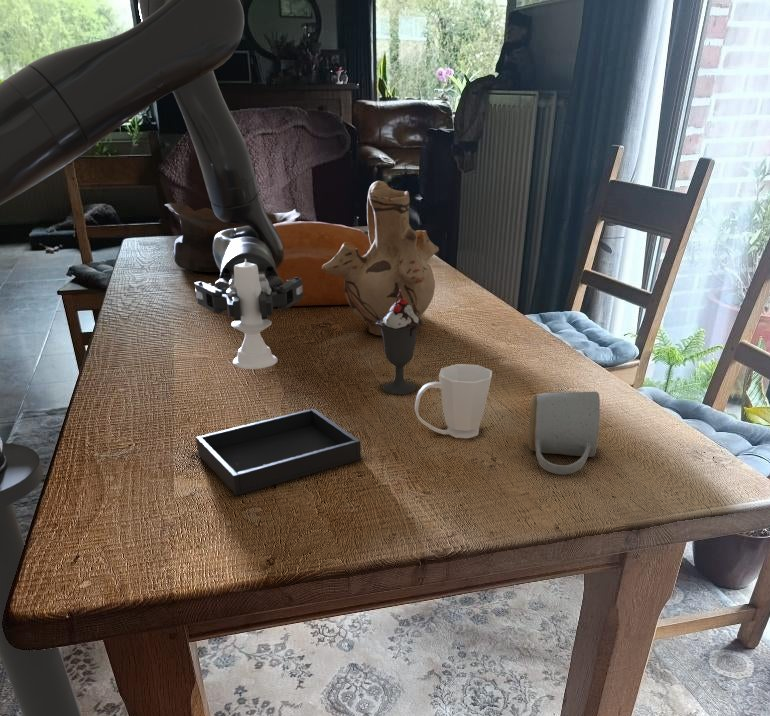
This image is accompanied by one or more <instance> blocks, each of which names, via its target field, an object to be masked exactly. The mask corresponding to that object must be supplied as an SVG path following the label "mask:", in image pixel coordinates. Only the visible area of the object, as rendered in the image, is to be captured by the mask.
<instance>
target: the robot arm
mask: <svg viewBox="0 0 770 716" xmlns="http://www.w3.org/2000/svg"><path fill="white" fill-rule="evenodd" d="M137 2H138V5H137V6H138V11H139V16H140V19H141V21H140V22H139V23H138V24H136V25H134V26H133V27H131V28H130V29H128V30H125V31H124V32H122V33H119V34H117V35H114V36H111V37H107V38H105V39H104V38H103V39H101V40H96V41H93V42H88V43H84V44H79V45H76V46H72V47H69V48H64V49H61V50H57V51H56V52H53V53H50V54H47V55H44V56H42V57H40V58H38V59H36V60H34V61H32V62H30V63H29V64H27V65H25V66H24V67H22V68H21V69H20V70H18V71H16V72H15V73H14V74H12V75H10V76H9V77H6V79H5V80H3V81H1V82H0V206H1V205H3V204H5V203H7V202H8V201H10V200H12V199H13V198H15V197H17V196H19V195H21V194H23V193H25V192H26V191H28V190H29V189H31V188H32V187H34V186H36V185H38V184H39V183H40V182H43V181H44V180H46V179H47V178H48V177H50V176H52V175H53V174H55V173H56V172H58V171H61V170H62V169H63V168H64V167H66V166H68V165H69V164H70V163H72V162H73V161H75V160H77V158H79V157H80V156H82V155H84V154H85V153H86V152H88V151H89V150H90V149H91V148H93V147H94V146H95V145H96V144H97V143H99V142H100V141H102V140H103V139H104V138H105V137H107V136H109V135H110V134H111V133H113V132H115V130H117V129H119V128H120V127H122V126H123V125H125V124H126V123H128V122H129V121H130V120H132V119H133V118H135V117H136V116H138V115H139V114H141V113H142V112H143V111H144V110H146V109H147V108H148V107H150V106H151V105H153V104H155V103H156V102H157V101H159V100H160V99H162V98H164V97H167V95H169V94H171V93H173V96H174V98H175V100H176V103H177V105H178V107H179V110H180V112H181V115H182V117H183V120H184V123H185V125H186V128H187V131H188V134H189V136H190V138H191V141H192V145H193V147H194V151H195V154H196V157H197V159H198V163H199V167H200V169H201V173H202V178H203V180H204V185H205V187H206V191H207V195H208V198H209V201H210V205H211V208H212V210H213V211H214V213H215V215H216V216H217V218H218V219H220V220H221V221H223V222H226V223H232V224H243V225H248V226H243V227H238V228H235V229H234V228H232V229H227V230H224V231H221V232H219V233H218V234H217V235H216V236H215V238H214V241H213V254H214V258H215V261H216V264H217V266H218V268H219V270H220V271H221V272H219V273H220V274H219V279H217V280H216V281H215V283H214V285H213V284H212V283H211V282H210V283H207V282H204V281H196V282H194V288H195V295H196V301H197V305H200V306H201V307H203V308H205V309H206V310H209V311H211V312H213V313H215V314H222V313H225V310H227V316H228V318H233V319H234V321H241V311H240V302H239V297H238V296H237V290H236V288H235V286H234V280H235V276H234V266H235V265H237V264H242V263H245V259H246V262H249V263H252V264H256V265H257V267H258V273H259V282H260V286H261V293H260V306H261V316H262V320H264V319H268V320H269V318H268V317H269V316H273V315H274V308H276V307H277V309H278V310H279V311H285V310H288V309H290V308H291V307H293V306H292V305H294V304H295V303H297V302H299V301H300V300H302V299H303V288H302V278H299V277H295V278H293V279H291V280H286V283H284V282H283V280H282V279H281V278H279V277H278V273H277V269H278V268H279V267H280V266H281V264H282V262H283V259H284V248H283V243H282V241H281V238H280V236H279V234H278V232H277V231H276V229H275V227H274V225H273V224H272V222H271V220H270V219H269V217H268V215H267V213H266V212H267V211H266V209H265V207H264V204H263V202H262V198H261V195H260V191H259V186H258V182H257V178H256V174H255V168H254V164H253V161H252V157H251V154H250V152H249V148H248V147H247V144H246V141H245V139H244V137H243V135H242V133H241V131H240V128H239V127H238V125H237V123H236V121H235V119H234V117H233V115H232V114H231V111H230V109H229V107H228V105H227V103H226V100H225V98H224V97H223V93H222V91H221V89H220V86H219V84H218V81H217V78H216V75H215V71H214V70H217V69H219V67H221V66H223V65H224V64H225V63H227V62H228V60H229V59H230V58H231V57H232V56H233V55H234V54H235V52H236V50H238V47H239V45H240V43H241V40H242V38H243V34H244V31H245V13H244V8H243V4H242V3H241V0H137ZM2 443H3V440H2V437H1V436H0V474H1V473H2V472H3V471H4V470H5V469H6V467H7V460H6V457H5V456H4V454H3V449H2V445H3V444H2Z"/></svg>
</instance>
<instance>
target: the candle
mask: <svg viewBox="0 0 770 716" xmlns="http://www.w3.org/2000/svg"><path fill="white" fill-rule="evenodd" d="M234 276H235V280H234V286H235V288H236V290H237V296H238V297H239V302H240V311H241V321H235V320H234V321H232V322H231V324H230V325H231V327H232V328H233V329H236V330H238V331H240V332H242V333H244V338H243V342H242V344H241V347H240V348H238V351H237V356H236V357H235V358H234V359H233V360H232V364H233V365H234V367H236V368H239V369H243V370H260V369H261V370H262V369H267V368H270V367H272V366H275V365H276V364H277V362H278V358H277V356H275V355H274V354H272V353H273V352H272V351H271V348H270V346H268V345H267V344H266V343H265V340H264V339H263V337H262V335H261V332H263V331H264V330H265V329H268V328H269V327H270V326H271V325H272V323H273V322H272V320H271V319H269V318H268V319H264V320H262V316H261V306H260V293H261V286H260V282H259V273H258V267H257V265H256V264H252V263H249V262H246V259H245V263H242V264H237V265H235V266H234Z"/></svg>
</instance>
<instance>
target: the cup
mask: <svg viewBox="0 0 770 716" xmlns="http://www.w3.org/2000/svg"><path fill="white" fill-rule="evenodd" d="M492 376H493V370H492V369H489V368H487V367H484V366H482V365H479V364H467V363H456V364H452V365H448V366H445V367H441V368H440V371H439V373H438V381H431V382H426V383H425V384H423V385H422V387H421V388H420V389H419V390H418V391H417V394H416V397H415V401H414V413H415V415H416V419H418V420H419V422H421V423H422V424H423V426H425V427H427V428H429V429H430V430H432V431H433V432H435V433H438V434H441V435H449V436H451V437H453V438H455V439H456V438H457V439H470V438H471V439H472V438H474V437H477V436H479V431H480V426H481V423H482V421H483V416H484V414H485V411H486V410H485V409H486V405H487V399H488V395H489V390H490V386H491V382H492ZM430 388H432V389H433V388H434V389H440V397H441V406H442V412H443V416H444V420H445V425H446V426H447V427H446V428H447V429H441V428H438V427H435V426H433V425H432V424H431V423H429V422H427V421H426V420H424V419H423V418H422V417H421V416H420V413H419V408H420V407H419V406H420V402H421V399H422V398H421V397H422V396H423V394H424V393H425V392H426V391H427V390H428V389H430Z"/></svg>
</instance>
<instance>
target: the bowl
mask: <svg viewBox="0 0 770 716" xmlns="http://www.w3.org/2000/svg"><path fill="white" fill-rule="evenodd" d="M163 205H164V206H165V207H167V209H168V210H169V211H170V212H172V213H174V214H176V215H177V216H178V219H179V223H180V234H182V235H180V236H177V237H176V239H175V241H174V252H173V257H174V262H175V265H177V266H178V267H179V268H180V269H185V270H188V271H191V272H200V273H201V272H203V273H221V271H220V270H219V268H218V266H217V264H216V261H215V258H214V254H213V241H214V238H215V236H216V235H217V234H218V233H219V232H221V231H224V230H227V229H232V228H234V229H235V228H238V227H243V226H248V225H243V224H232V223H226V222H223V221H221V220H220V219H218V218H217V216H216V215H215V213H214V211H213V208H212V209H211V208H208V207H203V208H199V209H196V210H194V209H193V208H192V207H190V206H189V205H182V204H177V203H174V202H168V203H164V204H163ZM266 213H267V215H268V217H269V219H270V220H271V222H272V224H276V223H286V222H295V221H296V219H297V218H298V217H299V216H301V213H300V211H299V212H297V210H296V208H295V209H293V210H291V211H286V212H277V213H276V212H275V213H274V212H270V211H268V212H267V211H266Z"/></svg>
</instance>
